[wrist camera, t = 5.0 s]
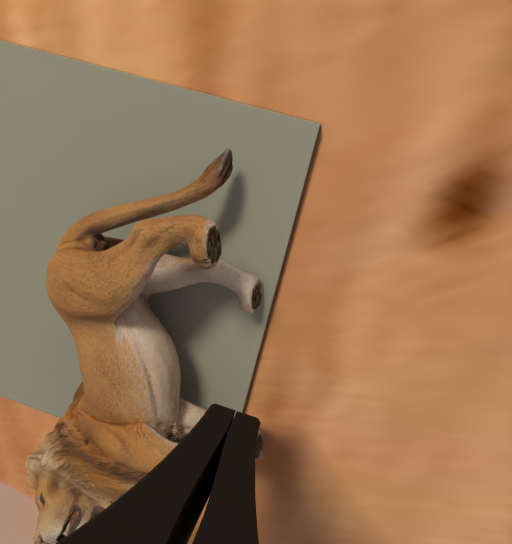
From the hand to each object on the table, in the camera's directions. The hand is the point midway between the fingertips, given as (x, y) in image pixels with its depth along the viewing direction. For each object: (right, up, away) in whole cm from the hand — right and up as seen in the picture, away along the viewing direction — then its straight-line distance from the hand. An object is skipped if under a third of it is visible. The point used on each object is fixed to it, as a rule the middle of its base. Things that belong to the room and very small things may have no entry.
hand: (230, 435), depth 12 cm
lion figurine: (0, 0, +1) cm, 2 cm away
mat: (-5, +4, +5) cm, 8 cm away
